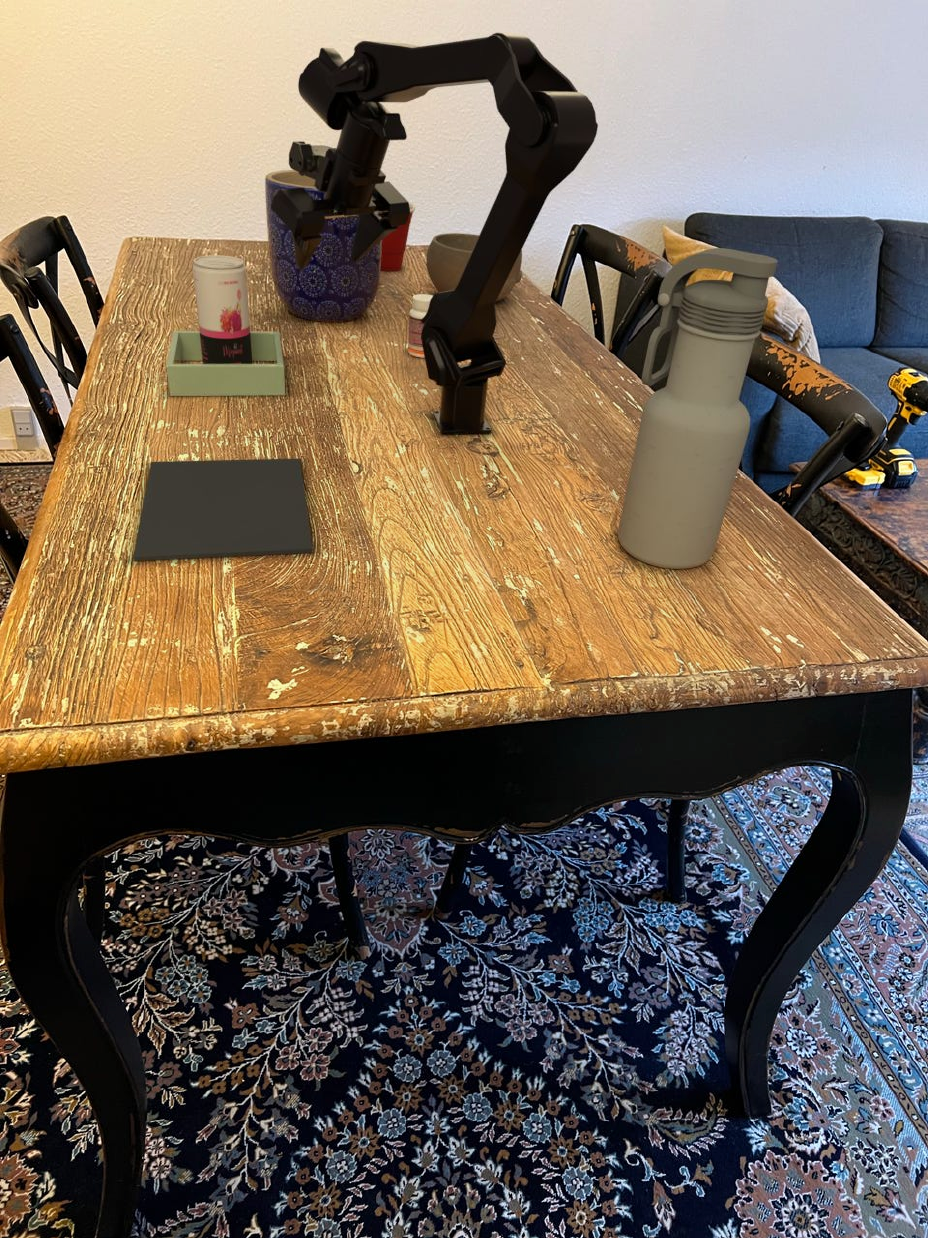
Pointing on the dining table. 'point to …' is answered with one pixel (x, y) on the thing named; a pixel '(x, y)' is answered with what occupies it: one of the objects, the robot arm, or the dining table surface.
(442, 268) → the bowl
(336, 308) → the planter
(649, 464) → the water bottle
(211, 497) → the mat
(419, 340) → the pill bottle
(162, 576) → the dining table surface
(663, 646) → the dining table surface
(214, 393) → the basin
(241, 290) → the beverage can
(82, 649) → the dining table surface
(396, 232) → the plastic cup
